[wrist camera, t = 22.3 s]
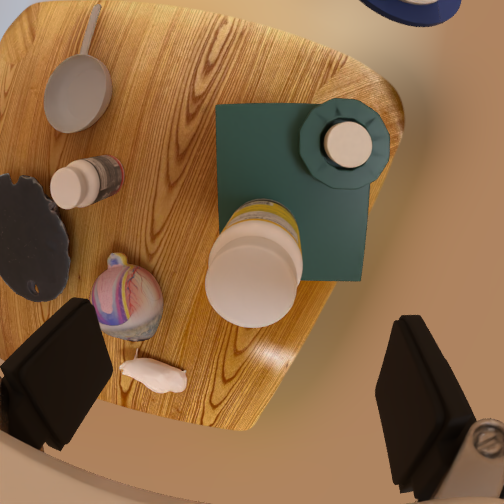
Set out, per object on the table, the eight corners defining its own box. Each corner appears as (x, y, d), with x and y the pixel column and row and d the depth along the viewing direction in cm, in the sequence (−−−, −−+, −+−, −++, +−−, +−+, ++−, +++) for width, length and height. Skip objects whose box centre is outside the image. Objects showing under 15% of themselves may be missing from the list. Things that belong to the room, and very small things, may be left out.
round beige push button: (323, 121, 17) (326, 120, 16) (366, 124, 17) (372, 123, 16) (323, 164, 18) (326, 166, 17) (365, 166, 18) (371, 169, 17)
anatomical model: (118, 316, 47) (87, 352, 38) (106, 242, 43) (67, 269, 33) (175, 325, 46) (151, 367, 37) (169, 246, 42) (138, 278, 32)
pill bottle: (96, 199, 40) (53, 218, 31) (87, 160, 39) (41, 171, 29) (130, 190, 40) (89, 208, 30) (121, 149, 38) (77, 156, 28)
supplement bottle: (270, 277, 23) (259, 352, 15) (215, 238, 22) (175, 297, 14) (313, 226, 21) (328, 282, 13) (256, 182, 20) (236, 213, 13)
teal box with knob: (247, 116, 35) (209, 98, 17) (340, 118, 34) (390, 103, 16) (249, 217, 39) (216, 288, 22) (337, 219, 38) (375, 292, 20)
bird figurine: (139, 365, 52) (187, 392, 50) (116, 380, 45) (167, 411, 43) (144, 342, 51) (194, 370, 49) (120, 356, 45) (173, 389, 42)
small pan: (53, 127, 37) (36, 128, 34) (82, 13, 31) (67, 7, 27) (109, 137, 37) (94, 138, 34) (144, 11, 31) (131, 2, 27)
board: (75, 314, 48) (59, 330, 44) (-5, 254, 47) (-22, 264, 42) (104, 200, 40) (83, 209, 36) (10, 146, 39) (-11, 150, 34)
